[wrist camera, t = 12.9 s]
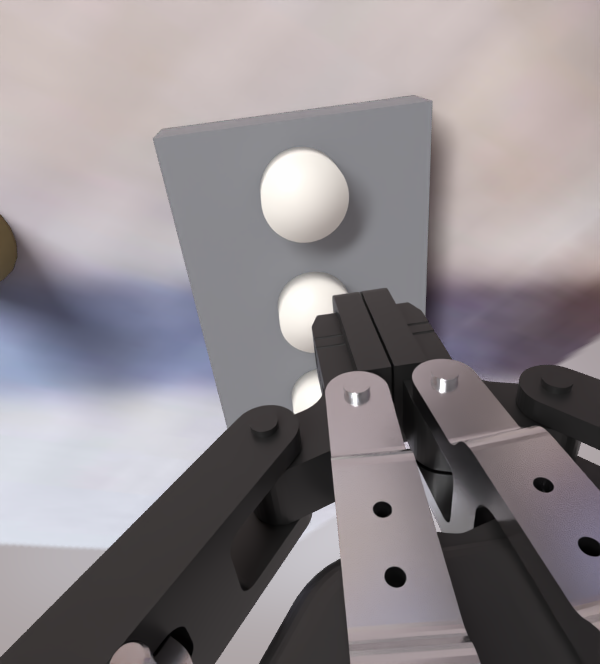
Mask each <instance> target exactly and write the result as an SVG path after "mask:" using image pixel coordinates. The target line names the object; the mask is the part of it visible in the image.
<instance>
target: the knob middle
mask: <svg viewBox="0 0 600 664" xmlns="http://www.w3.org/2000/svg"><path fill="white" fill-rule="evenodd" d="M346 293H348V291H347V289H346V287H345V286H344V284H343V283H342V282H341V281H340V280H339V279H338V278H336V277H334V276H333V275H330V274H328V273H324V272H308V273H304V274H301V275H299V276H297V277H295V278H293V279H292V280H291V281H290V282H288V283H287V284H286V286H285V287H284V288H283V290H282V292H281V293H280V296H279V300H278V313H279V321H280V328H281V332H282V334H283V336H284V338H285V339H286V340H287V342H288V343H289V344H291V345H292V346H293V347H295V348H297V349H298V350H301V351H304V352H309V353H315V352H314V343H313V335H312V325H313V323H314V320H315V318H316V316H317V315H324V314H331V313H333V303H332V296H333V295H339V294H346Z"/></svg>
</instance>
